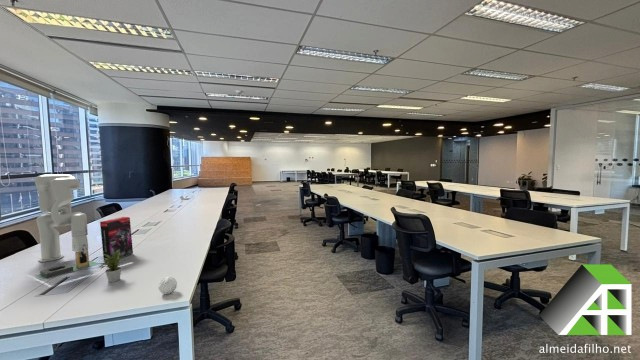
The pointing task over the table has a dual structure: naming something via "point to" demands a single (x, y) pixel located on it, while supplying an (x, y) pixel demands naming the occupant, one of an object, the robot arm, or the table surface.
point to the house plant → (112, 267)
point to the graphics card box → (116, 237)
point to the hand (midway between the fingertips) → (81, 261)
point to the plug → (79, 260)
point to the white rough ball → (167, 285)
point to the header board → (61, 270)
